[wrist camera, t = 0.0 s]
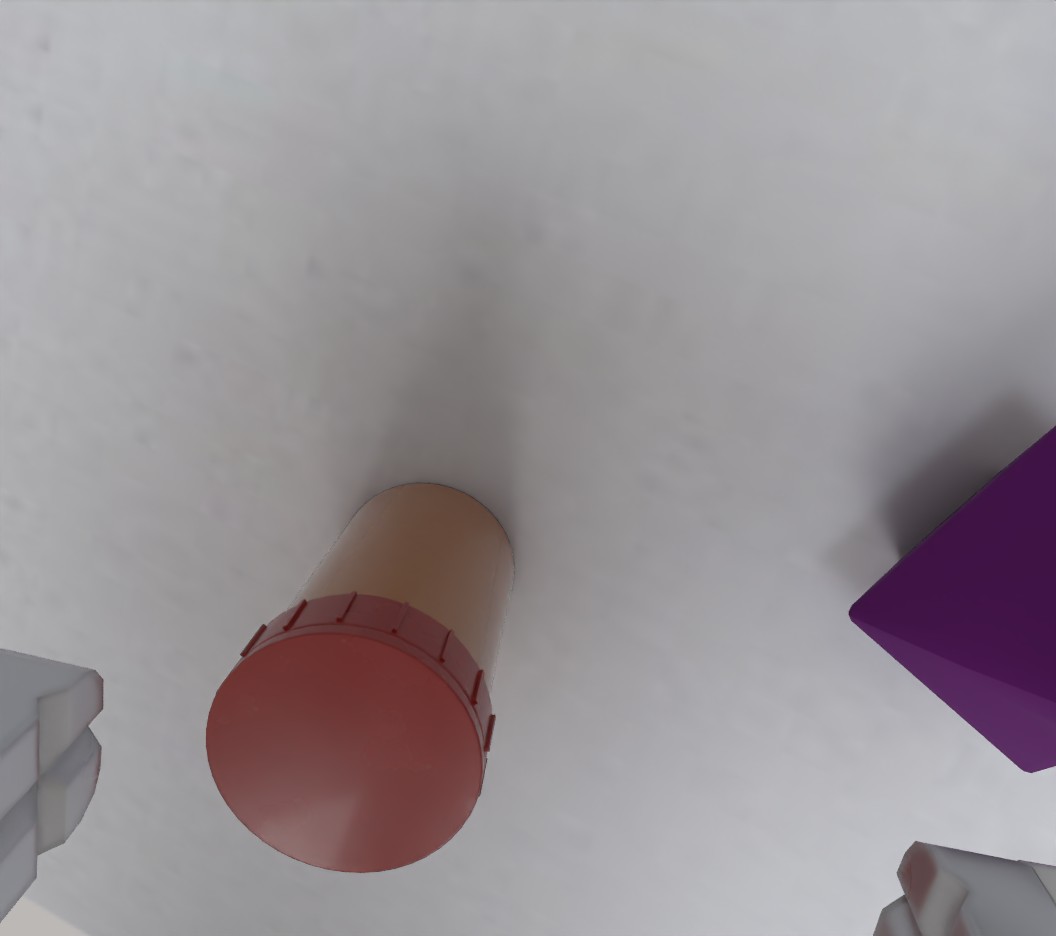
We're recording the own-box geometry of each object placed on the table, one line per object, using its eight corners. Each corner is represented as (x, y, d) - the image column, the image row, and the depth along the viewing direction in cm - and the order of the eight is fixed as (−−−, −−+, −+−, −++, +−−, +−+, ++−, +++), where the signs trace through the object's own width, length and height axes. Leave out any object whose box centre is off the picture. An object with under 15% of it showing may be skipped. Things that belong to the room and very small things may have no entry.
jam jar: (497, 658, 30) (453, 872, 21) (331, 624, 30) (214, 822, 21) (529, 502, 28) (496, 660, 19) (352, 466, 28) (234, 606, 19)
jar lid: (470, 840, 22) (459, 899, 20) (226, 789, 22) (194, 843, 20) (515, 621, 20) (507, 665, 18) (248, 566, 20) (215, 605, 19)
